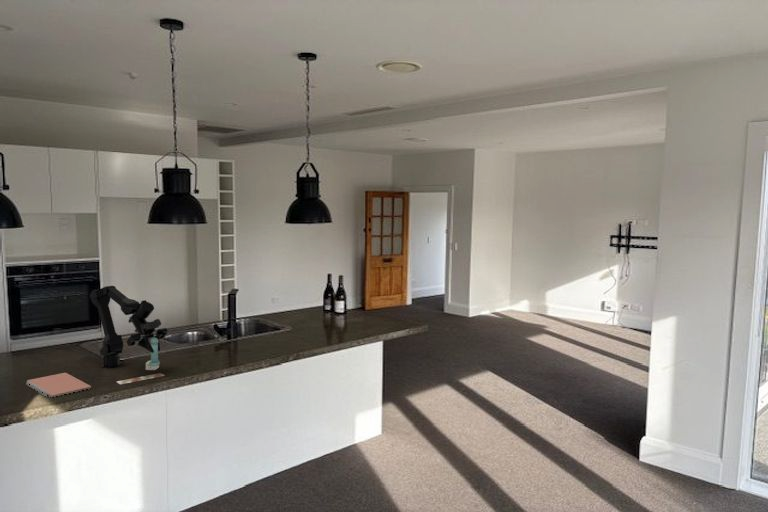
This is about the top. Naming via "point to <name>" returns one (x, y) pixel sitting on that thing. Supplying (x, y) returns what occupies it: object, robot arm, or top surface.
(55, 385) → the notebook
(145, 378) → the board
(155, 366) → the die
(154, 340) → the pawn
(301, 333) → the top surface
